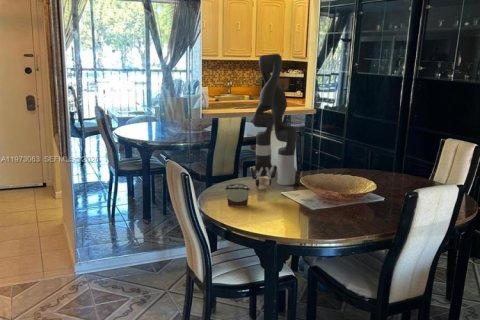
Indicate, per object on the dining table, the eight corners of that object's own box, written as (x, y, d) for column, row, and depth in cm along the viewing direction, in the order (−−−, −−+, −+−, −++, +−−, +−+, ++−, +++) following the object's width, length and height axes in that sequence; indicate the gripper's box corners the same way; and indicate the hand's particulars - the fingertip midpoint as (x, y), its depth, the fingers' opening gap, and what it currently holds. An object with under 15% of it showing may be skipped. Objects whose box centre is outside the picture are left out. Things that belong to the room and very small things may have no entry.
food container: (251, 202, 220) (251, 183, 218) (250, 206, 214) (250, 187, 212) (226, 201, 221) (226, 182, 219) (224, 205, 215) (224, 186, 213)
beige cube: (266, 185, 225) (266, 176, 224) (269, 188, 221) (269, 179, 219) (257, 186, 224) (257, 176, 223) (259, 189, 220) (259, 179, 218)
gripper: (275, 150, 223) (275, 183, 227) (247, 152, 220) (247, 185, 225) (279, 154, 216) (279, 187, 220) (250, 155, 213) (250, 189, 218)
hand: (263, 186), depth 222 cm, fingers closed on beige cube, 5 cm apart
